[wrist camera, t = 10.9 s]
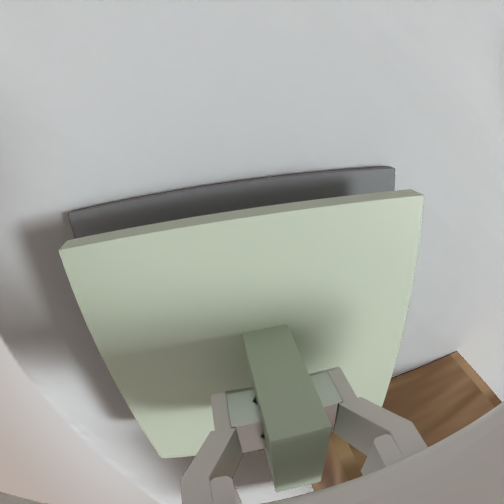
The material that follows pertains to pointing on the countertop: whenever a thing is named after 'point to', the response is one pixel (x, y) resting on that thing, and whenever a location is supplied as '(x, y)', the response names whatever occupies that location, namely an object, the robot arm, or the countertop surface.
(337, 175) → the slate mat
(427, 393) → the storage box
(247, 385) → the lid
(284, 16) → the countertop surface
